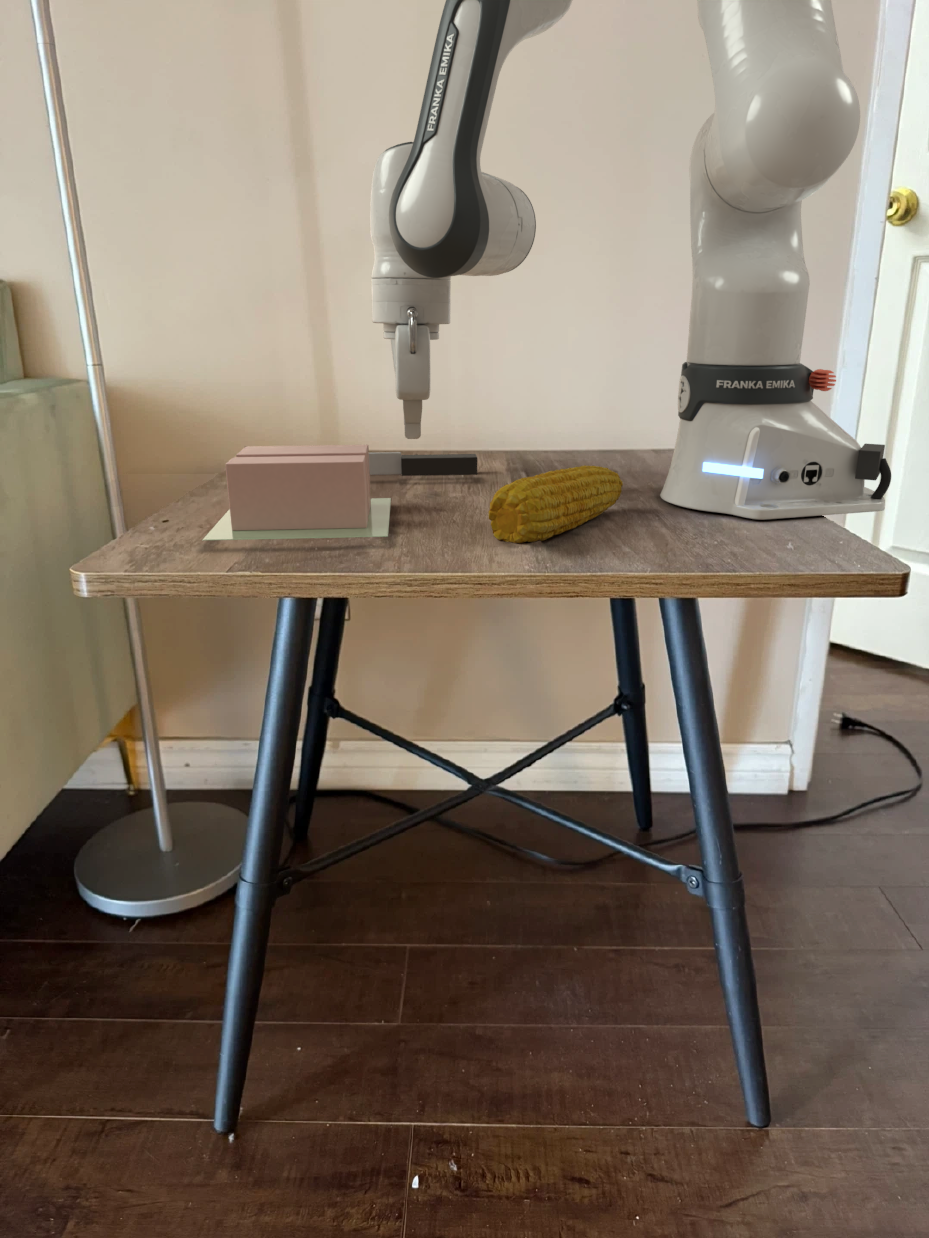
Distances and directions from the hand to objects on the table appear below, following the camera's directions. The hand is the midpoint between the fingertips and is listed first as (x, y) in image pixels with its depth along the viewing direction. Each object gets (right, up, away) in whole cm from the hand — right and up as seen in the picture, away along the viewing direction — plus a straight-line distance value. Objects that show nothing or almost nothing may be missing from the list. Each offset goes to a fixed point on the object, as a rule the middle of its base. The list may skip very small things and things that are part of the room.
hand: (411, 432), depth 101 cm
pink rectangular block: (-9, -11, -17) cm, 23 cm away
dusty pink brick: (-9, -13, -23) cm, 28 cm away
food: (+15, -14, -21) cm, 29 cm away
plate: (-9, -13, -19) cm, 25 cm away
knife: (-4, -6, +2) cm, 7 cm away
